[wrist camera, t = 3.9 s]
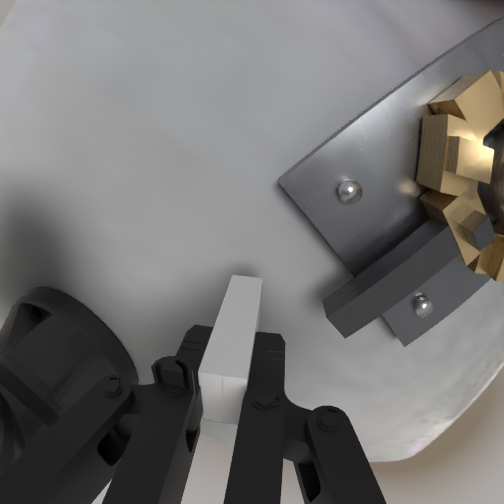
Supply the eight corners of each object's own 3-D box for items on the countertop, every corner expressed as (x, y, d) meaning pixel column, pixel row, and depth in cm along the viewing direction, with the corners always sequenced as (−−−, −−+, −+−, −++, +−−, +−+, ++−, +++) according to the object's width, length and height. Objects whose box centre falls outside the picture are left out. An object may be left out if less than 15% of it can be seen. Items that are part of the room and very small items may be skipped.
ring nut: (372, 353, 17) (385, 394, 13) (267, 230, 14) (263, 261, 11) (548, 196, 11) (581, 211, 8) (491, 54, 9) (528, 46, 5)
